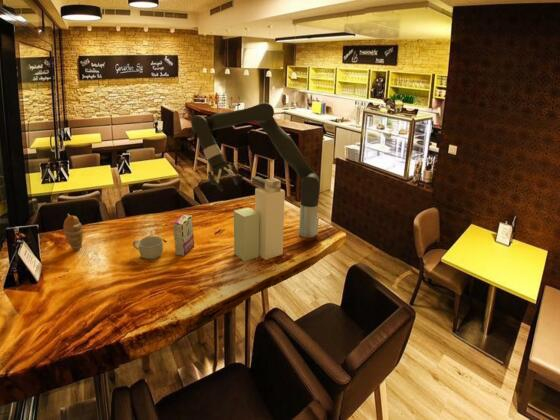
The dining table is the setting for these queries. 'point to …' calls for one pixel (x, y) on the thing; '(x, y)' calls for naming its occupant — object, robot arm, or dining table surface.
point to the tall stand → (270, 222)
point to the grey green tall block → (246, 233)
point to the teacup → (149, 247)
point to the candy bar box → (183, 235)
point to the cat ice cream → (73, 232)
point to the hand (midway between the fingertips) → (229, 187)
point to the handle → (267, 184)
